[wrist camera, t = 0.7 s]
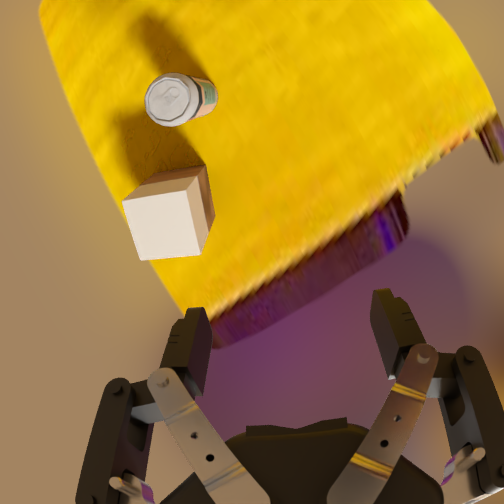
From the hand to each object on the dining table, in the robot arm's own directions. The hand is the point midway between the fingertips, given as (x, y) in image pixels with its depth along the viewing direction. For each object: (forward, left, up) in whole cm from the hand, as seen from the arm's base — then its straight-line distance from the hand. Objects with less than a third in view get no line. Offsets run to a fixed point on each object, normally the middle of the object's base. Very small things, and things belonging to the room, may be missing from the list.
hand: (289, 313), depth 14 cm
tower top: (+2, -12, -20) cm, 24 cm away
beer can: (-10, -8, -26) cm, 29 cm away
